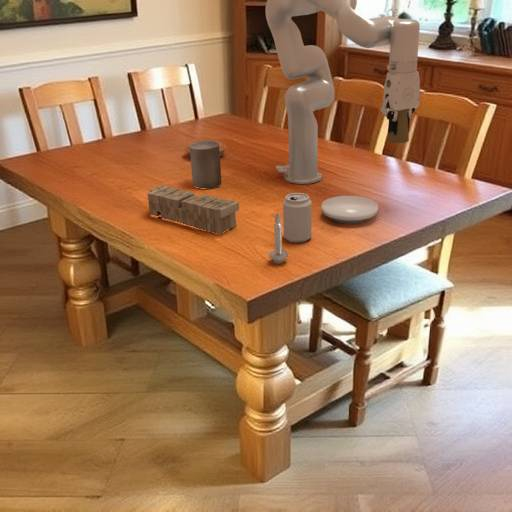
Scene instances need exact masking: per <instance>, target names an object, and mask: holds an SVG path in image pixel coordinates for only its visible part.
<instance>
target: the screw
mask: <svg viewBox="0 0 512 512" xmlns="http://www.w3.org/2000/svg"><path fill="white" fill-rule="evenodd" d="M273 225H274V226H273V227H274V229H273V230H274V231H273V232H274V235H273V236H274V249H272V250H270V251H269V252H268V256H269V258H270V259H272V262H273V263H274V264H277V265H280V264H283V263H284V262H285V259H286V258H288V256H289V252H288V251H286V250H284V249H282V248H283V240H282V239H283V234H282V232H283V229H282V228H283V227H282V221H281V213H278V212H277V213H275V214H274V224H273Z"/></svg>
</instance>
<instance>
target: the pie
mask: <svg viewBox="0 0 512 512" xmlns="http://www.w3.org/2000/svg"><path fill="white" fill-rule="evenodd" d="M200 141H201V140H198V141H196V142H200ZM205 141H212V140H211V139H210V140H205ZM214 141H215V142H218V143H219V151H220V156H221V157H222V155H223V154H224V152H225V150H226V149H227V145H226V144H225V143H222V142H221V141H218V140H214ZM192 143H193V142H191V143H190V144H189V145H191V144H192ZM189 145H187V146H185V147H184V150H185V152H186V153H187V154H188V156H190V147H189Z"/></svg>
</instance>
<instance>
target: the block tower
mask: <svg viewBox="0 0 512 512" xmlns="http://www.w3.org/2000/svg"><path fill="white" fill-rule="evenodd" d="M147 200H148V201H147V202H148V208H149V216H150V215H155V216H159V215H161V217H160V219H161V218H164V219H169V220H172V221H177V222H180V223H183V224H186V225H189V226H193V227H196V228H199V229H203V230H206V231H209V232H214V233H217V234H221V233H223V232H224V231H226V230H228V229H230V228H232V229H234V228H235V226H236V227H237V219H236V218H237V217H236V213H237V212H239V211H240V203H239V202H240V201H239V202H238V201H235V200H231V199H230V200H229V199H223V198H218V197H216V196H212V195H211V196H210V195H207V194H201V195H198V196H195V192H192V191H187V190H183V189H179V188H175V187H171V186H165V185H162V184H161V185H158V186H156V187H154V188H151V189H149V192H148V193H147ZM233 227H234V228H233ZM230 230H231V229H230ZM228 231H229V230H228ZM209 232H208V233H209ZM226 232H227V231H226ZM217 234H216V235H217ZM223 234H224V233H223ZM221 235H222V234H221Z"/></svg>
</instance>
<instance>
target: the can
mask: <svg viewBox="0 0 512 512" xmlns="http://www.w3.org/2000/svg"><path fill="white" fill-rule="evenodd" d="M282 212H283V213H282V214H283V217H282V218H283V227H282V228H283V237H284V239H286V240H287V241H288V242H291V243H296V244H300V243H305V242H307V241H308V240H309V239H311V237H312V200H311V199H310V196H309V194H307V193H302V192H295V193H294V192H293V193H289V194H287V195H285V199H284V200H283V201H282Z"/></svg>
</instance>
